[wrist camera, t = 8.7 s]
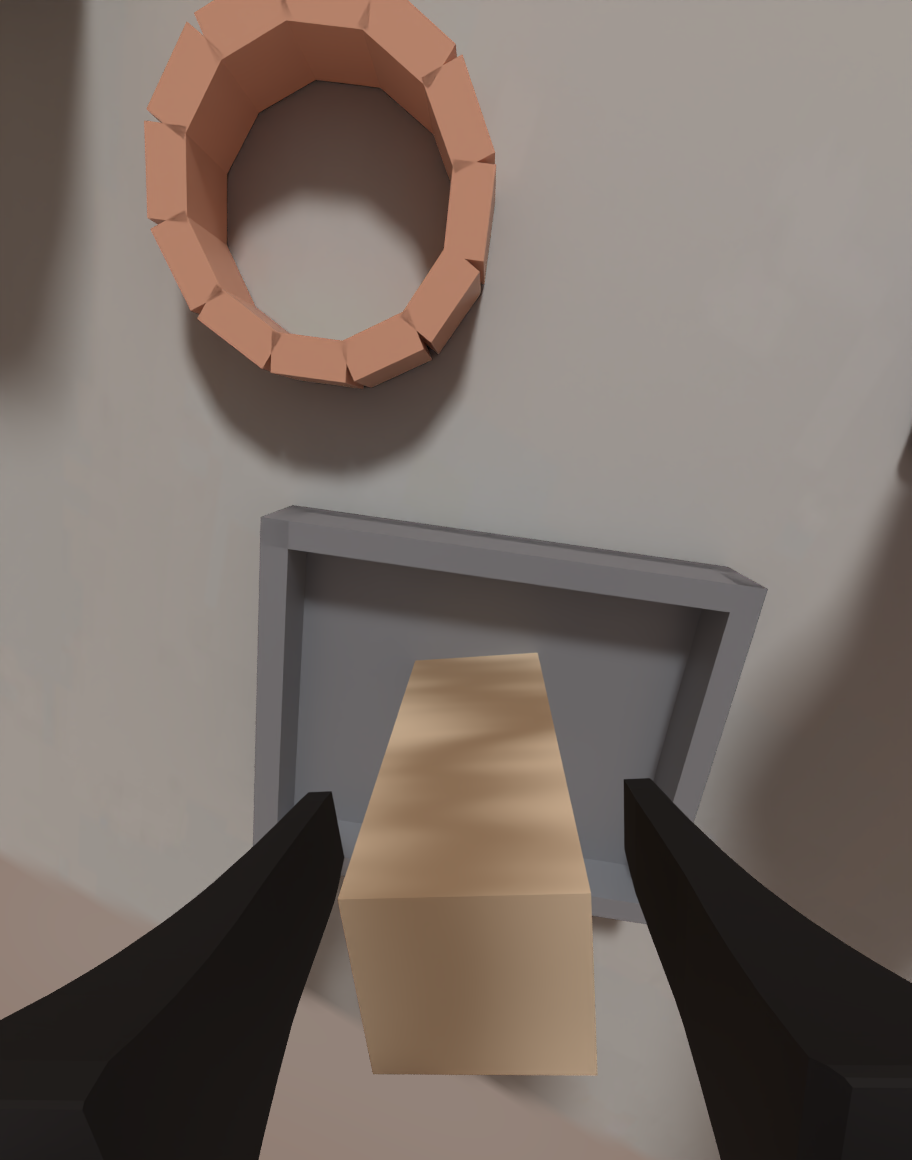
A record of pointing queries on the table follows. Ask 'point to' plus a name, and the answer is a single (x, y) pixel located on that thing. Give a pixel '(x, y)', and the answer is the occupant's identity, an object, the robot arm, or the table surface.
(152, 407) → the table surface
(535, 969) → the oak peg
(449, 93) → the segmented block ring
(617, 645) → the tray
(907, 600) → the table surface
